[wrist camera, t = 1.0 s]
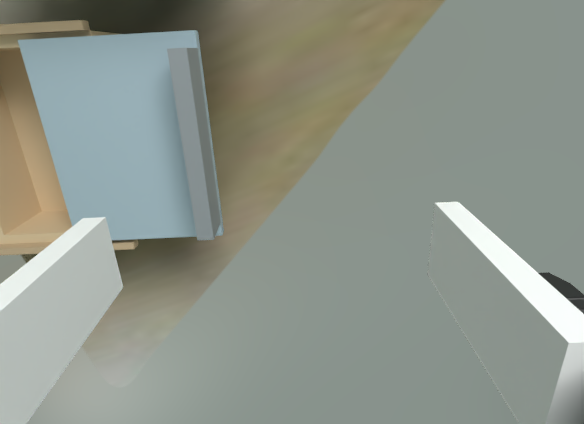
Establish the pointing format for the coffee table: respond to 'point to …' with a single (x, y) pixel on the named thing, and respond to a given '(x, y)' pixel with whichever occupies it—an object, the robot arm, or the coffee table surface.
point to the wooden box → (30, 149)
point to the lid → (129, 131)
